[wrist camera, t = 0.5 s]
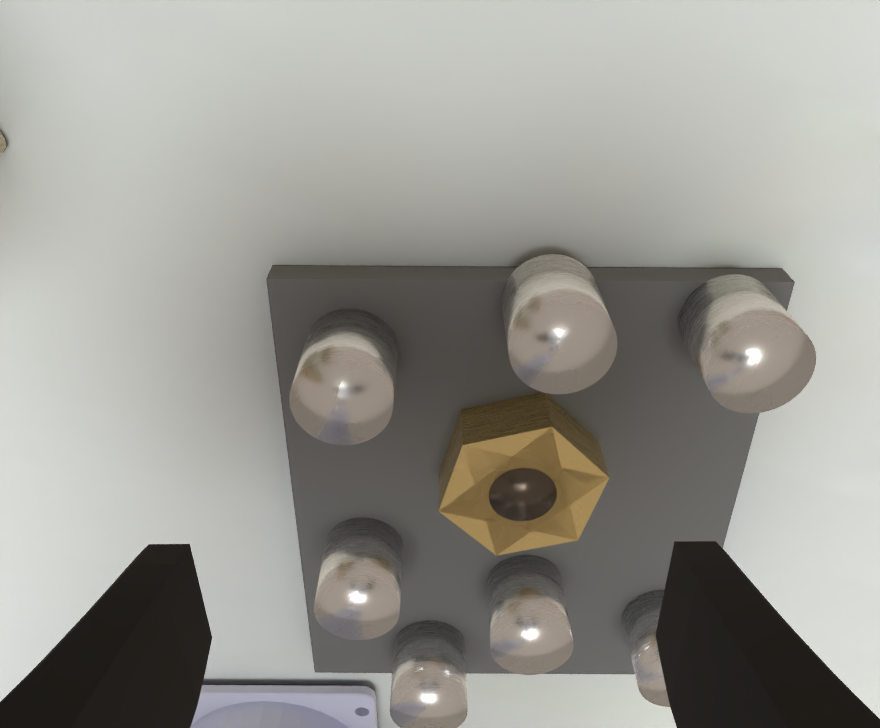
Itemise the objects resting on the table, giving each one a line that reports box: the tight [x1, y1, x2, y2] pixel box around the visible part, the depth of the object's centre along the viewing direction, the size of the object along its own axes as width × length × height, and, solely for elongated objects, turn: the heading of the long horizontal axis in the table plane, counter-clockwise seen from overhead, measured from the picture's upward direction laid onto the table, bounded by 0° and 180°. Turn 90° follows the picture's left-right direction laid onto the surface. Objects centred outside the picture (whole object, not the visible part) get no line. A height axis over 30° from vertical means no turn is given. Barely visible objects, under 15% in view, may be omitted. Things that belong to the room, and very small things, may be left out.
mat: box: [267, 266, 794, 674], centre depth 23 cm, size 15×13×1 cm
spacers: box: [289, 254, 816, 728], centre depth 21 cm, size 15×12×2 cm
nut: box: [439, 392, 609, 556], centre depth 21 cm, size 4×5×2 cm
